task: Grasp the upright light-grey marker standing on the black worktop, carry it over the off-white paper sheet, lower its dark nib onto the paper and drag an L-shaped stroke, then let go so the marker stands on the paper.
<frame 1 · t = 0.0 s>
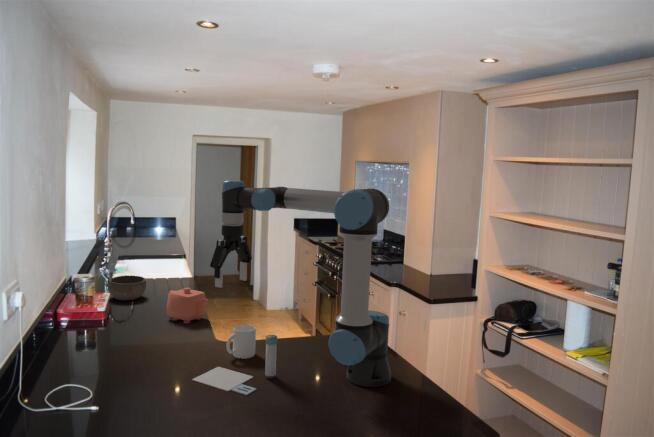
hand: (231, 283, 188), 28 cm above the worktop, fingers open, 13 cm apart
word card: (243, 390, 167), on the worktop
mug: (239, 356, 195), on the worktop
paper: (222, 378, 174), on the worktop
teapot: (187, 319, 236), on the worktop
marker: (270, 377, 177), on the worktop
bowl: (127, 298, 265), on the worktop
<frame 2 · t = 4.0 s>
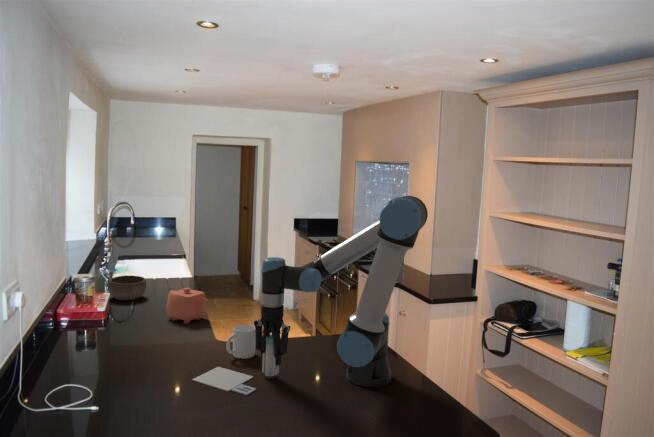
hand: (270, 372, 177), 2 cm above the worktop, fingers closed on marker, 3 cm apart
marker: (270, 377, 177), on the worktop, touching gripper
everything else where it was.
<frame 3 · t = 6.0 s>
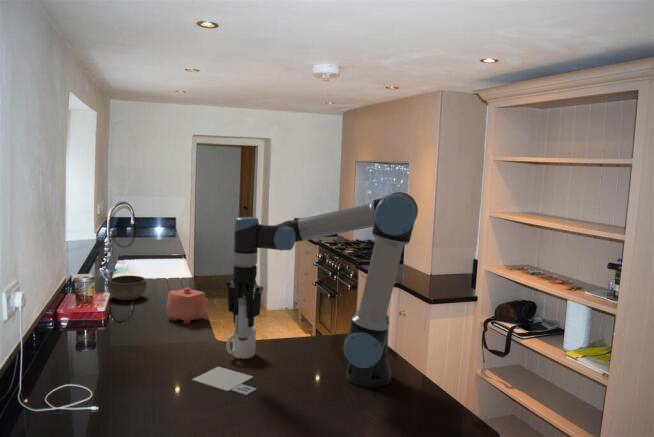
hand: (243, 334, 174), 15 cm above the worktop, fingers closed on marker, 3 cm apart
marker: (243, 339, 174), point 13 cm above the worktop, touching gripper
everything else where it was.
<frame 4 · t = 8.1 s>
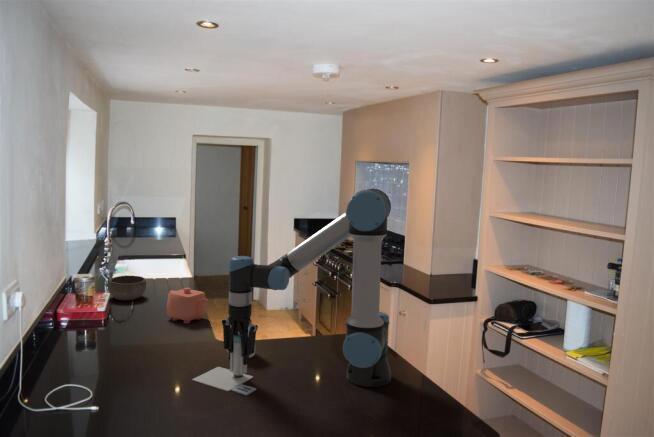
hand: (238, 371, 176), 2 cm above the worktop, fingers closed on marker, 3 cm apart
marker: (238, 376, 176), resting on paper, touching gripper
everything else where it was.
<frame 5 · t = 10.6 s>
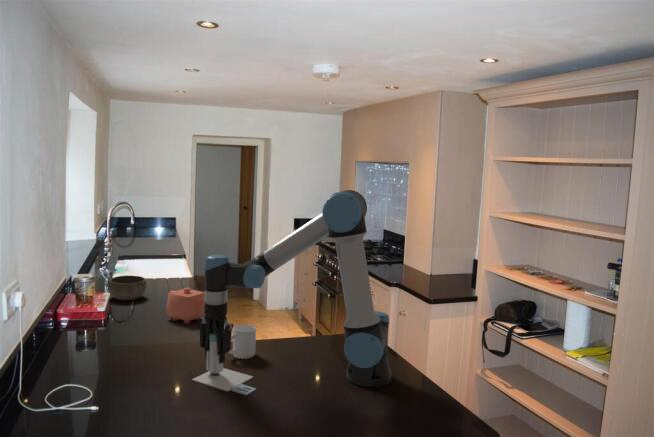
hand: (214, 370, 177), 2 cm above the worktop, fingers closed on marker, 3 cm apart
marker: (214, 374, 177), resting on paper, touching gripper
everything else where it was.
when the fingers open (2 cm above the worktop, at t = 12.3 s): marker stays where it is, resting on paper.
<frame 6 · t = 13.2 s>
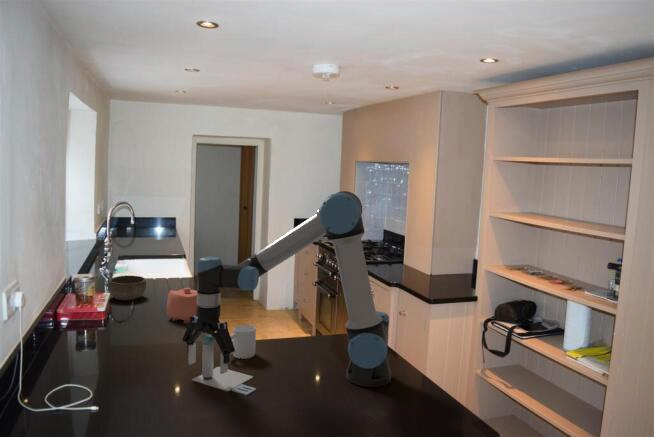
hand: (207, 368, 173), 4 cm above the worktop, fingers open, 13 cm apart
marker: (207, 378, 174), resting on paper
everything else where it was.
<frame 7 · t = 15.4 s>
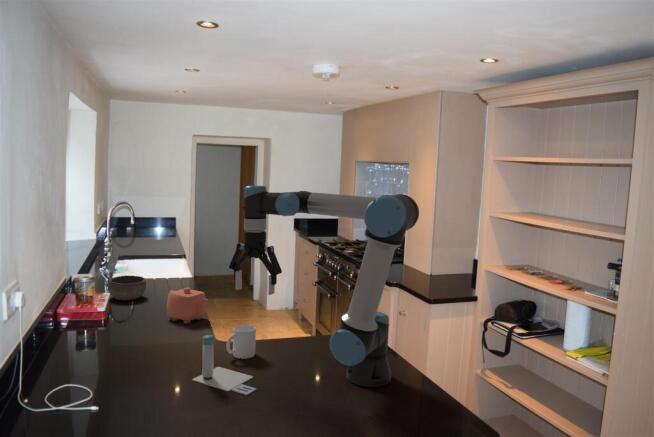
hand: (254, 291, 183), 27 cm above the worktop, fingers open, 13 cm apart
nothing on the worktop moved.
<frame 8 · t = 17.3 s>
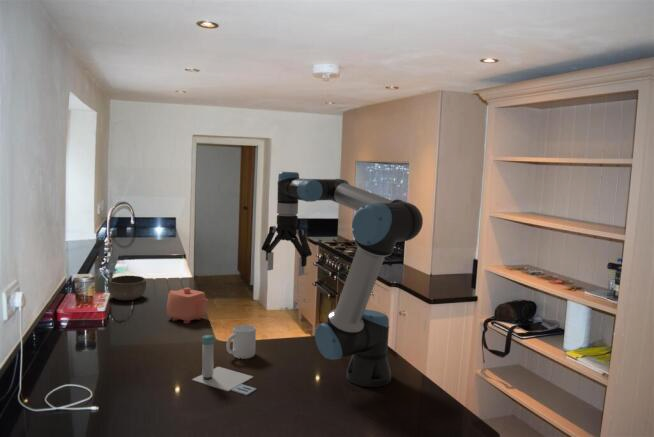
hand: (285, 272, 193), 32 cm above the worktop, fingers open, 13 cm apart
nothing on the worktop moved.
at the end: marker inside the target area on the paper (4.9 cm from its centre), point 0.3 cm above the paper's base; marker touching paper; the gripper is holding nothing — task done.
